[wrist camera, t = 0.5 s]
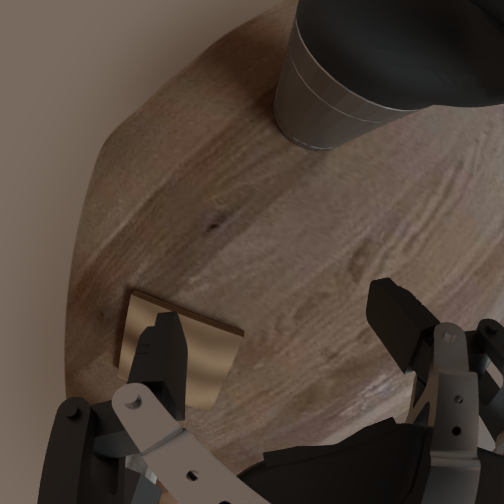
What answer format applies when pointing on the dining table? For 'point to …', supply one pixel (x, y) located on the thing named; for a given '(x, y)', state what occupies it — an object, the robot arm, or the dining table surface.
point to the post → (199, 353)
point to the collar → (140, 489)
